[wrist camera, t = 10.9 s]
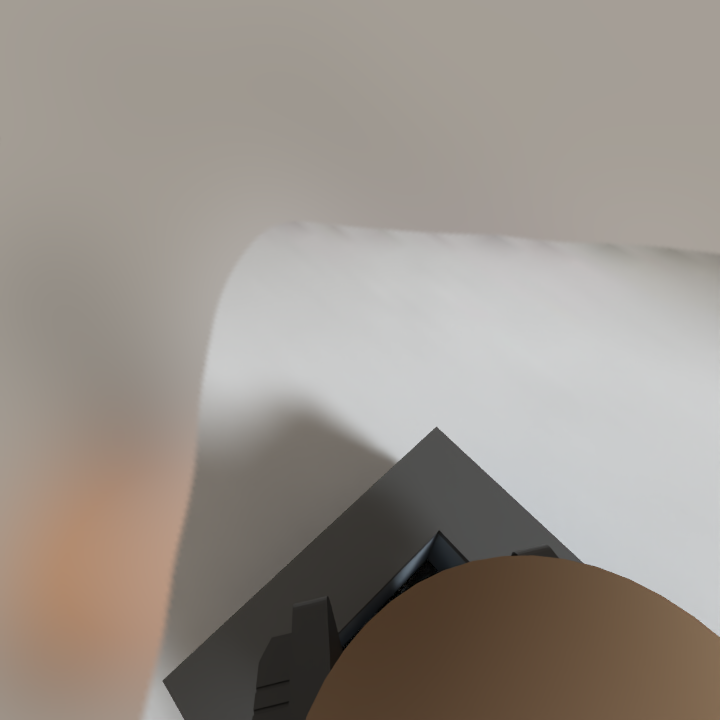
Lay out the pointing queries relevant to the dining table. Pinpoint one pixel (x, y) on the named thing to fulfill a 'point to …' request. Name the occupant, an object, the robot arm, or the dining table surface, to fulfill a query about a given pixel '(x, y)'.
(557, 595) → the walnut peg
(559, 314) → the dining table surface
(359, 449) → the dining table surface
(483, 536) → the collar
